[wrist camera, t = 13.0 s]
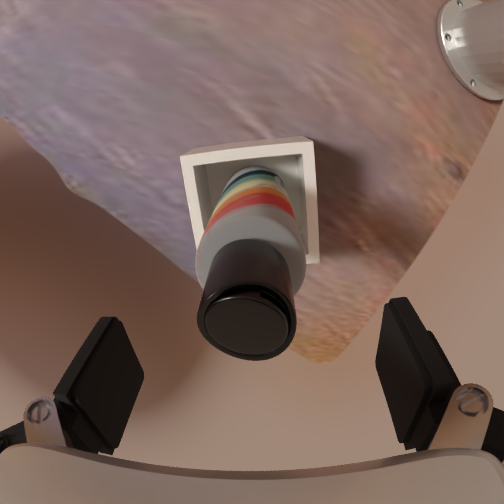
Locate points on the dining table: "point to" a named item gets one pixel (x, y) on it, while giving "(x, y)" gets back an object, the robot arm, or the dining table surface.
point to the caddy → (262, 154)
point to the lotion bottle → (250, 267)
